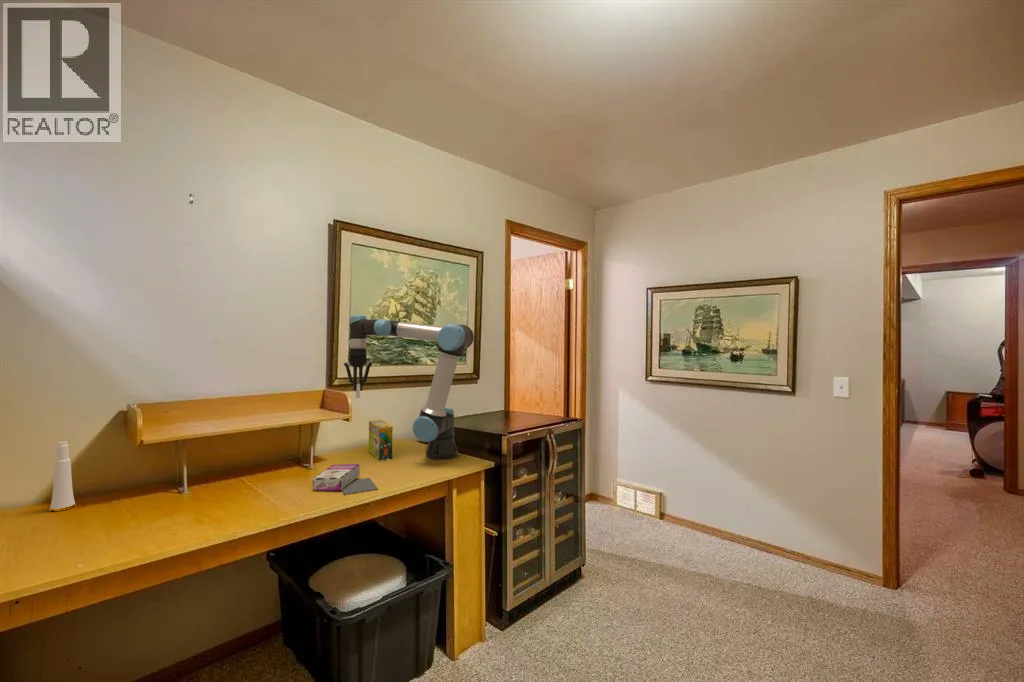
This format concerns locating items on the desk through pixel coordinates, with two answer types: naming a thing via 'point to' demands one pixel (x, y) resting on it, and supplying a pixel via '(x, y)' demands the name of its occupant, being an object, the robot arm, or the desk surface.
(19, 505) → the desk surface
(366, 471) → the desk surface
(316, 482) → the candy bar box
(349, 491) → the mat
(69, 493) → the cosmetic bottle
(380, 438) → the fingerpaint box
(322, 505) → the desk surface
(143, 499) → the desk surface
